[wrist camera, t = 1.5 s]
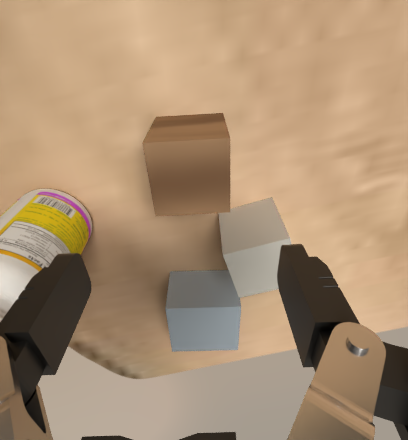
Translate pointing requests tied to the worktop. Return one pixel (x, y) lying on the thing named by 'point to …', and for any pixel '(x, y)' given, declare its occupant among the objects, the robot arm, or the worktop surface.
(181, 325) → the base block
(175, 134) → the walnut block
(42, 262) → the supplement bottle
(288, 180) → the worktop surface
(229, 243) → the grey block
